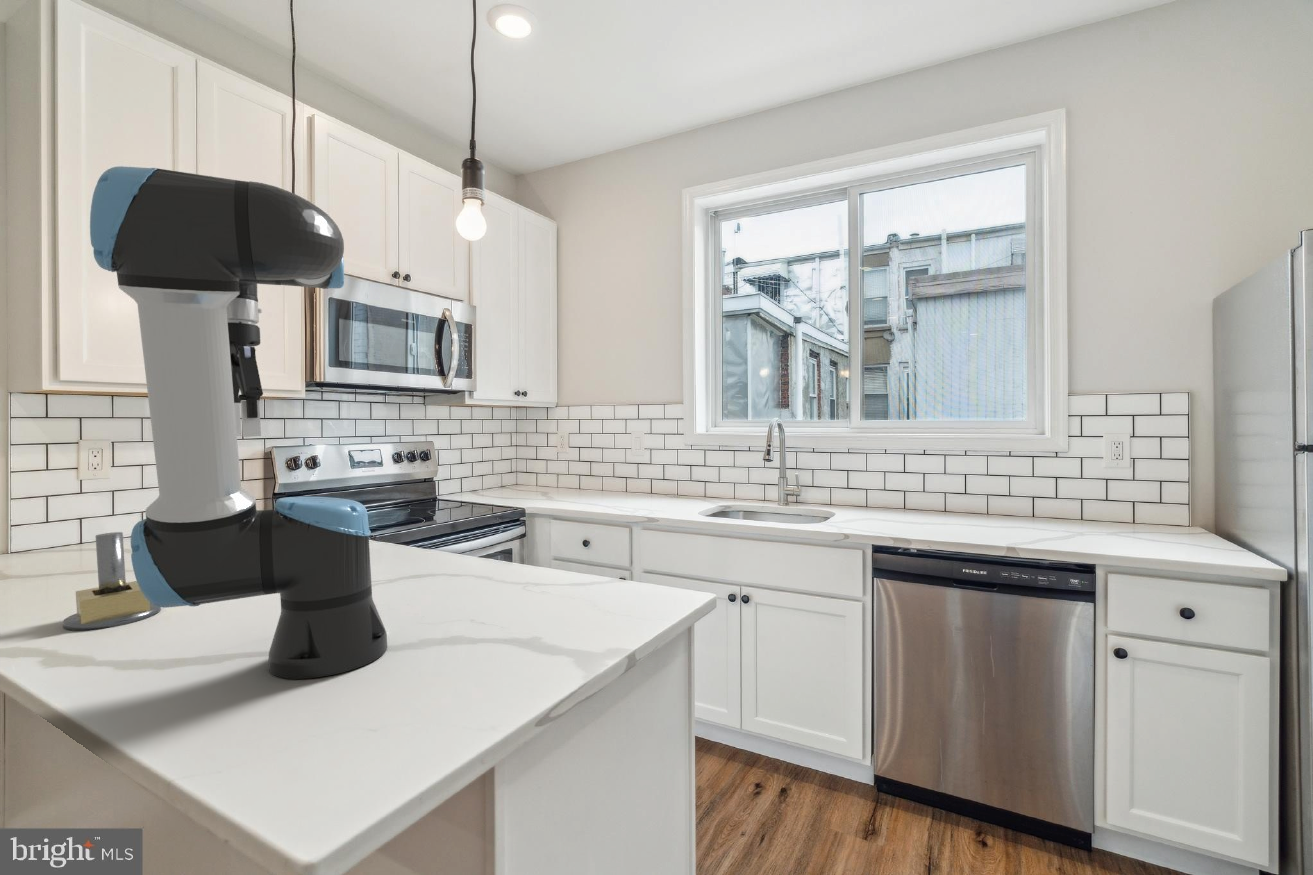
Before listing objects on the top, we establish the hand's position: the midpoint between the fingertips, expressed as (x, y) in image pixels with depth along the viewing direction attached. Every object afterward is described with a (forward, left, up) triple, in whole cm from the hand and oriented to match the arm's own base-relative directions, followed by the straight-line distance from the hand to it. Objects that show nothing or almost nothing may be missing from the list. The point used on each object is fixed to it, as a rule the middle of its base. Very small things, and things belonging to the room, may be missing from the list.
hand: (241, 436), depth 117 cm
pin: (+8, +19, -31) cm, 37 cm away
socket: (+8, +19, -32) cm, 38 cm away
